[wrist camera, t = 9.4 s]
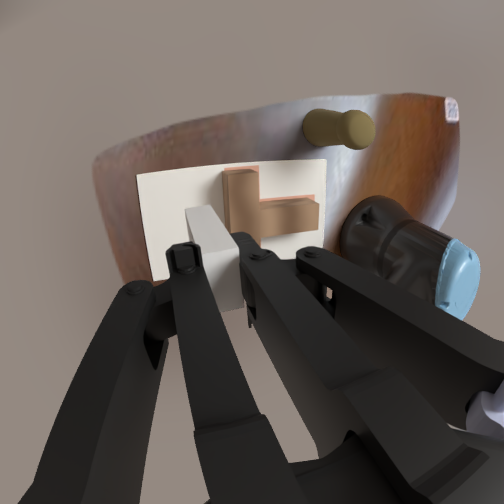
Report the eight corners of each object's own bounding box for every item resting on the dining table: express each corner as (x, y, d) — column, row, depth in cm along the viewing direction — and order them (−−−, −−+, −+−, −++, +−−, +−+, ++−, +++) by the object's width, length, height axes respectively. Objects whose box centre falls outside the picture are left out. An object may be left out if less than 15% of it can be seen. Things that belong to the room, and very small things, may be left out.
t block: (307, 165, 42) (320, 169, 39) (305, 250, 48) (316, 260, 45) (221, 170, 39) (227, 175, 36) (227, 262, 45) (233, 274, 41)
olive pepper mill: (335, 148, 43) (380, 157, 33) (301, 144, 41) (341, 151, 31) (338, 111, 41) (384, 111, 31) (303, 105, 39) (345, 101, 29)
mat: (325, 159, 43) (326, 159, 43) (321, 253, 50) (322, 253, 49) (136, 174, 36) (136, 175, 36) (153, 280, 43) (153, 281, 43)
